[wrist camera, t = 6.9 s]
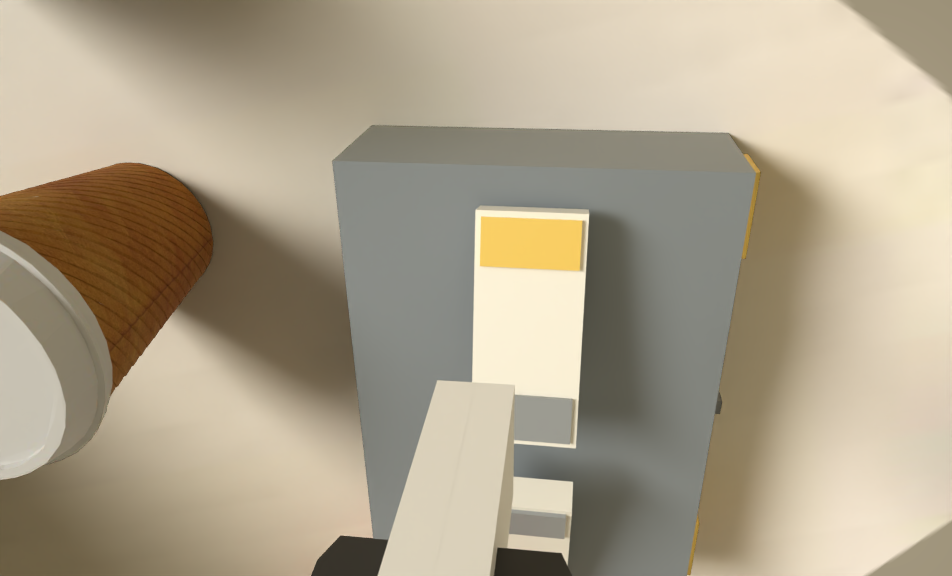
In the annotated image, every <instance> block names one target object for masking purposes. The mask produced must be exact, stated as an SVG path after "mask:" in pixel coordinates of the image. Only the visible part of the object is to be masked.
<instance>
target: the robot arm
mask: <svg viewBox="0 0 952 576" xmlns="http://www.w3.org/2000/svg"><path fill="white" fill-rule="evenodd" d="M514 403H515V385H510V384H493V383H476V382H459V381H443V380H437V383H436V386H435V390H434V393H433V396H432V399H431V403H430V406H429V409H428V413H427V416H426V419H425V422H424V426H423V429H422V432H421V435H420V439H419V442H418V445H417V449H416V452H415V455H414V458H413V462H412V465H411V468H410V471H409V475H408V478H407V481H406V485H405V488H404V491H403V494H402V498H401V501H400V504H399V507H398V511H397V514H396V517H395V521H394V524H393V527H392V530H391V534H390V537H389V540H385V539H373V538H362V537H350V536H340V537H339V538H338V539H337V540H336V541H335V542H334V543H333V544H332V545H331V546H330V547H329V548H328V549H327V551H326V552H325V553H324V554H323V555H322V556H321V557H320V558H319V559H318V560H317V563H316V565H315V567H314V570H313V572H312V575H311V576H572V574H571V572H570V570H569V568H568V566H567V563H566V561H565V559H564V557H563V555H562V553H556V552H544V551H533V550H521V549H510V548H507V547H508V538H509V528H510V519H511V510H512V501H513V476H514Z"/></svg>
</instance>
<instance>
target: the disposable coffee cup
mask: <svg viewBox="0 0 952 576" xmlns="http://www.w3.org/2000/svg"><path fill="white" fill-rule="evenodd" d="M212 250H213V239H212V233H211V227H210V224H209V221H208V218H207V216H206V214H205V212H204V210H203V208H202V206H201V205H200V203H199V202H198V201H197V199H196V198H195V197H194V195H193V194H192V193H191V192H190V191H189V190H188V189H187V188H186V187H185V186H184V185H183V184H182V183H181V182H179V181H178V180H176V179H175V178H173V177H172V176H170V175H169V174H167V173H166V172H164V171H162V170H160V169H158V168H155V167H151V166H148V165H144V164H140V163H119V164H115V165H112V166H109V167H105V168H101V169H98V170H94V171H91V172H87V173H83V174H80V175H76V176H72V177H69V178H65V179H61V180H58V181H53V182H49V183H46V184H43V185H39V186H36V187H32V188H28V189H25V190H21V191H17V192H13V193H10V194H7V195H2V196H0V480H3V479H10V478H16V477H19V476H22V475H25V474H28V473H31V472H32V471H34V470H36V469H37V468H39V467H41V466H43V465H46V464H51V463H54V462H57V461H60V460H63V459H65V458H67V457H69V456H71V455H73V454H75V453H76V452H78V451H79V450H80V449H81V448H82V447H83V446H84V445H85V444H86V443H87V442H88V441H89V440H91V438H92V437H93V436H94V435H95V433H96V432H97V429H98V427H99V425H100V423H101V421H102V419H103V417H104V415H105V413H106V411H107V405H108V403H109V398H110V396H111V394H112V393H113V391H114V390H115V387H118V386H119V384H120V382H121V381H122V379H123V377H124V376H126V375H127V373H128V372H129V370H130V369H131V366H134V364H135V363H136V361H137V359H138V358H139V356H141V355H142V354H143V352H144V350H145V349H146V347H148V345H149V344H150V343H151V341H152V340H153V338H155V336H156V335H157V333H158V332H159V330H160V329H162V327H163V325H164V324H165V322H166V321H167V320H168V319H169V317H170V316H171V315H172V313H173V312H174V311H175V310H176V308H177V307H178V305H180V303H181V302H182V300H183V299H184V297H186V295H187V294H188V292H189V291H190V290H191V289H192V287H193V286H194V284H195V283H196V282H197V281H198V279H199V278H200V277H201V276H202V275H203V273H204V272H205V270H206V268H207V266H208V265H209V263H210V260H211V256H212Z"/></svg>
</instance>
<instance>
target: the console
mask: <svg viewBox="0 0 952 576" xmlns="http://www.w3.org/2000/svg"><path fill="white" fill-rule="evenodd" d="M332 162H333V171H334V181H335V190H336V199H337V208H338V217H339V227H340V236H341V245H342V254H343V263H344V273H345V282H346V291H347V300H348V309H349V319H350V328H351V337H352V346H353V355H354V365H355V374H356V383H357V392H358V401H359V411H360V420H361V429H362V438H363V447H364V457H365V466H366V475H367V484H368V494H369V503H370V512H371V521H372V530H373V539H385V540H389V537H390V534H391V530H392V527H393V524H394V521H395V517H396V514H397V511H398V507H399V504H400V501H401V498H402V494H403V491H404V488H405V485H406V481H407V478H408V475H409V471H410V468H411V465H412V462H413V458H414V455H415V452H416V449H417V445H418V442H419V439H420V435H421V432H422V429H423V426H424V422H425V419H426V416H427V413H428V409H429V406H430V403H431V399H432V396H433V393H434V390H435V386H436V383H437V380H443V381H459V382H472V365H473V312H474V259H475V210H476V209H477V208H478V207H479V206H480V205H482V206H510V207H537V208H565V209H589V226H588V243H587V261H586V278H585V296H584V313H583V331H582V348H581V366H580V383H579V401H578V418H577V436H576V448H564V447H552V446H539V445H527V444H514V476H513V477H523V478H535V479H547V480H558V481H570V482H573V496H572V517H571V530H570V542H569V554H568V568H569V570H570V572H571V574H572V576H687V575H690V574H691V568H692V562H693V557H694V551H695V545H696V540H697V534H698V528H699V520H698V508H699V502H700V496H701V490H702V485H703V479H704V473H705V467H706V461H707V455H708V450H709V444H710V438H711V432H712V426H713V421H714V415H715V414H720V410H721V405H722V400H721V396H720V393H719V386H720V380H721V374H722V368H723V362H724V357H725V351H726V345H727V339H728V333H729V328H730V322H731V316H732V310H733V304H734V299H735V293H736V287H737V281H738V275H739V269H740V264H741V258H742V259H746V254H747V248H748V242H749V237H750V231H751V225H752V220H753V214H754V208H755V202H756V197H757V191H758V185H759V180H760V174H761V172H760V170H759V169H758V168H757V166H756V165H755V164H754V162H753V161H752V159H751V158H750V157H749V155H748V154H743V153H742V152H741V151H740V149H739V148H738V146H737V145H736V143H735V142H734V141H733V139H732V138H731V136H730V135H729V133H700V132H654V131H607V130H561V129H514V128H468V127H421V126H375V125H372V126H371V127H369V128H368V129H367V130H366V131H365V132H364V133H363V134H362V135H361V136H359V137H358V138H357V139H356V140H355V141H354V142H353V143H352V144H351V145H349V146H348V147H347V148H346V149H345V150H344V151H343V152H342V153H341V154H339V155H338V156H337V157H336V158H335V159H334V160H333V161H332Z"/></svg>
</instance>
